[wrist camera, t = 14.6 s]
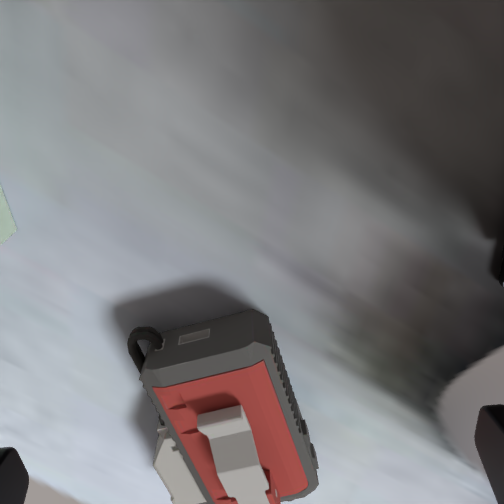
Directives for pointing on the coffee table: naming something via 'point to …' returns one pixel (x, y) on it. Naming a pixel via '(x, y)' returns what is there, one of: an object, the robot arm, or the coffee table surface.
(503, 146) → the coffee table surface
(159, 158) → the coffee table surface
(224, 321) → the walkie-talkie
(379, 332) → the coffee table surface
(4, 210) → the stand
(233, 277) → the coffee table surface
